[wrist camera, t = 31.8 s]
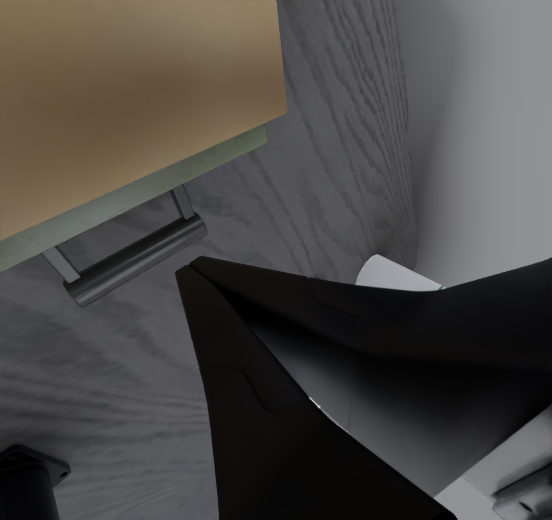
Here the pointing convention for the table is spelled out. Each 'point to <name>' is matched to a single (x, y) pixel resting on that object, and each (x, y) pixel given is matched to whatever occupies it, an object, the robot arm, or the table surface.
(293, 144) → the table surface
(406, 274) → the cylindrical container
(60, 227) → the drawer
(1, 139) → the cabinet
